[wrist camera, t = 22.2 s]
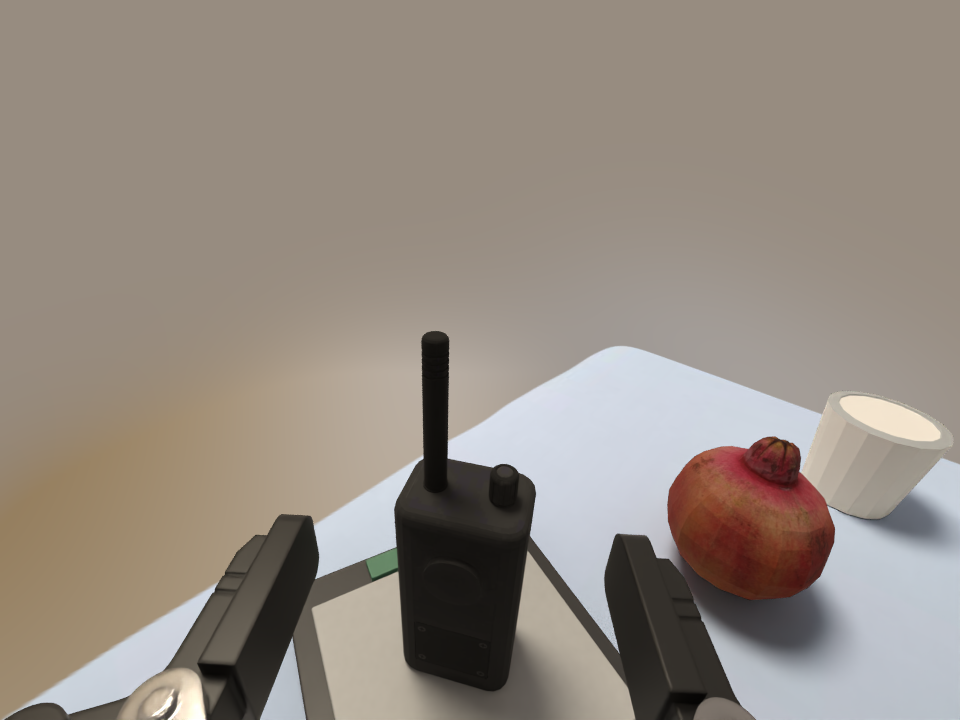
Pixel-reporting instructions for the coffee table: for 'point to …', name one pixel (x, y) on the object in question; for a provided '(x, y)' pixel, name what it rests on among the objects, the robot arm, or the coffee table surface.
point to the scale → (441, 702)
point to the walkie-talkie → (459, 549)
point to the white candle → (872, 452)
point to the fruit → (751, 520)
